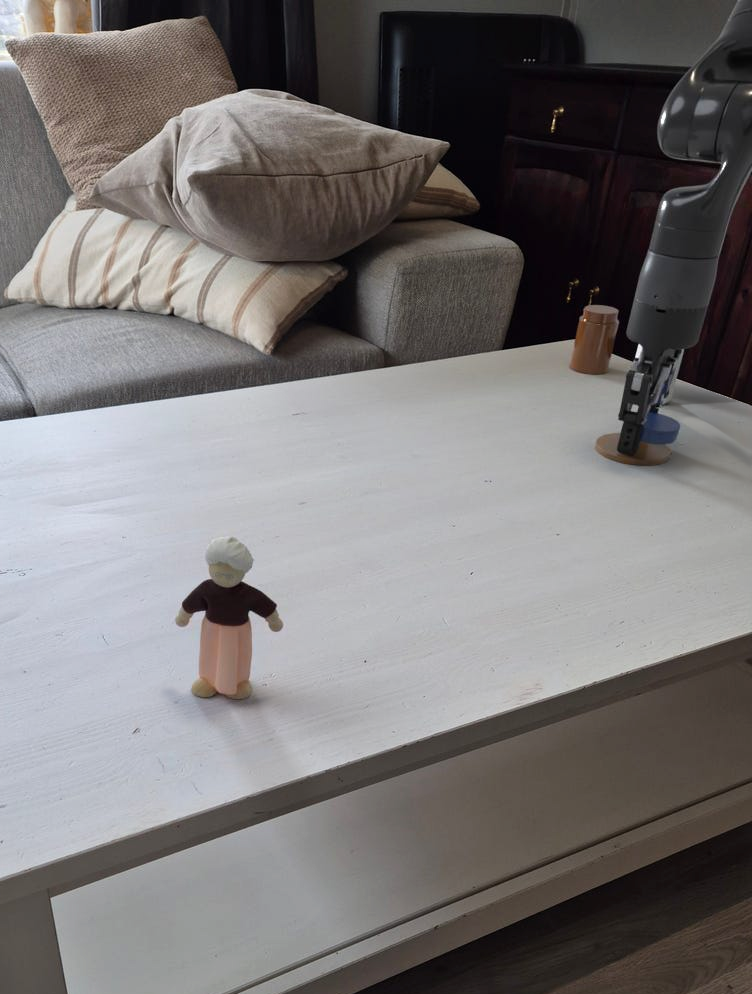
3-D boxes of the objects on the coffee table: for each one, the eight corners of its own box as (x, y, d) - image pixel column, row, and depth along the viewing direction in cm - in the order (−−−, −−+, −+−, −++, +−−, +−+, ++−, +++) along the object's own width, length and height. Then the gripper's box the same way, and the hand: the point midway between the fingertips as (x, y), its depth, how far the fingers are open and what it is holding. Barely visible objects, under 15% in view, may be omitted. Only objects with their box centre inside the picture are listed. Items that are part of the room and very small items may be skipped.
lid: (674, 448, 104) (678, 435, 103) (621, 438, 105) (625, 424, 104) (677, 431, 108) (682, 418, 107) (626, 420, 110) (630, 407, 109)
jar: (586, 360, 137) (598, 302, 133) (615, 370, 134) (629, 311, 129) (561, 366, 135) (573, 307, 130) (591, 376, 131) (604, 316, 126)
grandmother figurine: (178, 706, 67) (171, 553, 60) (177, 674, 70) (171, 526, 63) (282, 701, 68) (288, 550, 61) (277, 671, 71) (282, 523, 64)
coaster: (645, 435, 113) (647, 431, 113) (683, 463, 106) (685, 458, 106) (582, 439, 111) (583, 434, 111) (616, 467, 105) (617, 462, 104)
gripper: (654, 278, 105) (620, 420, 115) (617, 304, 96) (582, 457, 105) (723, 289, 102) (681, 434, 112) (691, 316, 92) (649, 473, 102)
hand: (633, 444), depth 108 cm, fingers closed on lid, 5 cm apart
